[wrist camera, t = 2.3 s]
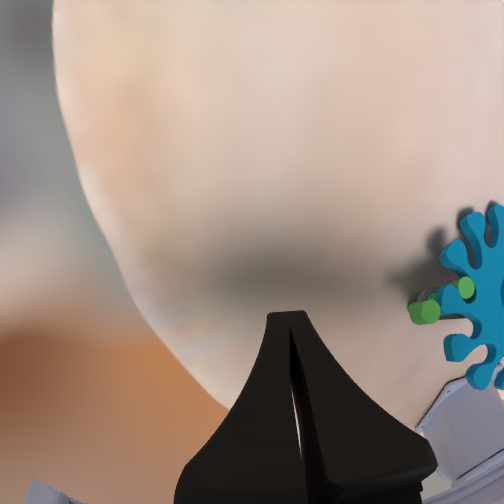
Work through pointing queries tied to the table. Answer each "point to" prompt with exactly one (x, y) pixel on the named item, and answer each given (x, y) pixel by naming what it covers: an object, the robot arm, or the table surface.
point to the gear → (472, 297)
